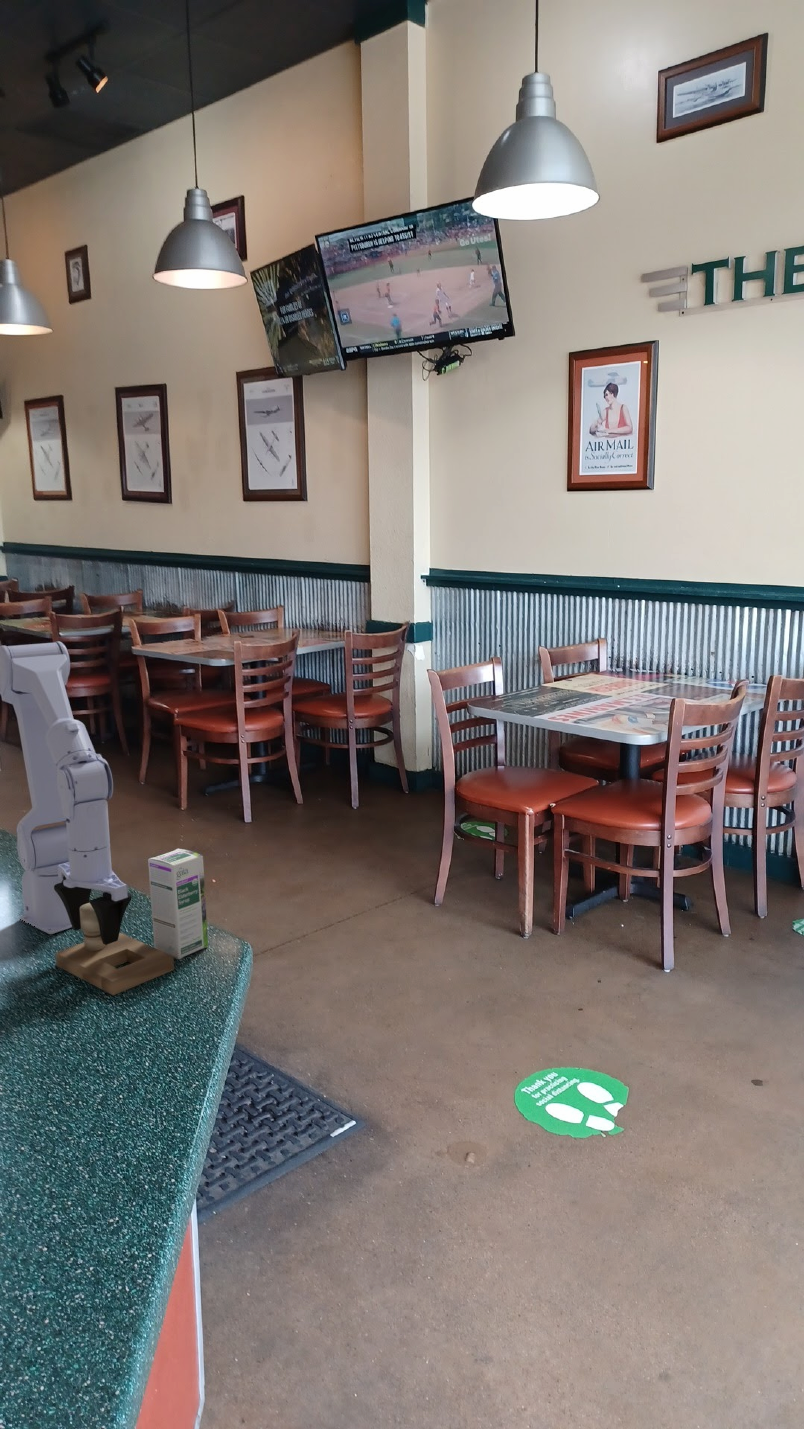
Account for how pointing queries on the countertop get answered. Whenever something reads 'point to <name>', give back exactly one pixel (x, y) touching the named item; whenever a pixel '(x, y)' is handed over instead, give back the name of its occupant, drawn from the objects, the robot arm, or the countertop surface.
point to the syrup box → (178, 902)
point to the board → (116, 964)
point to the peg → (90, 928)
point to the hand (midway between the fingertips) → (95, 935)
